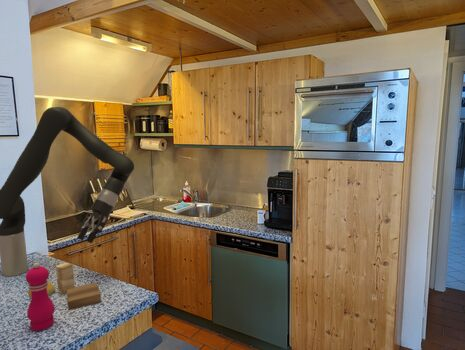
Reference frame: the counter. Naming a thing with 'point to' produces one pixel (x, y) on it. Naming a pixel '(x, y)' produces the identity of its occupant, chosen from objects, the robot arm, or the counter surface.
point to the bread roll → (49, 289)
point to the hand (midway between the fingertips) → (84, 240)
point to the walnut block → (83, 295)
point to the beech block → (65, 277)
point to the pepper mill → (39, 298)
